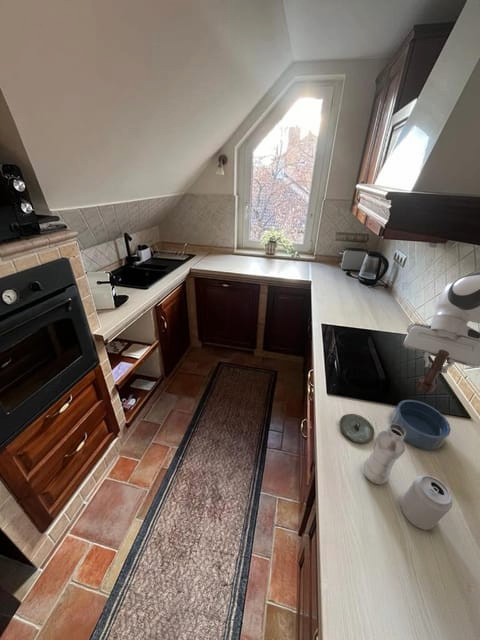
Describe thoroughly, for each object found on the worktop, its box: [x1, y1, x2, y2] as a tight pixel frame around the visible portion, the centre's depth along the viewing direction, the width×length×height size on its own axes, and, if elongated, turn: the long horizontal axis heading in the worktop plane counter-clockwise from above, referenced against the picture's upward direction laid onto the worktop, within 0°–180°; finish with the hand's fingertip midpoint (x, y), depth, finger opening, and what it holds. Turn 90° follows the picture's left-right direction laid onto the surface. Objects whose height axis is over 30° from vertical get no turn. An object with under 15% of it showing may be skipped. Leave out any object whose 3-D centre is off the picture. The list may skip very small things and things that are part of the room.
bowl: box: [391, 399, 452, 451], centre depth 83 cm, size 15×15×6 cm
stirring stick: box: [416, 350, 449, 394], centre depth 80 cm, size 5×5×15 cm
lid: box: [339, 413, 375, 444], centre depth 83 cm, size 11×10×5 cm
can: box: [399, 474, 453, 531], centre depth 61 cm, size 8×8×12 cm
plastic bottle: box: [362, 423, 406, 485], centre depth 67 cm, size 6×7×20 cm
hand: (435, 370), depth 79 cm, fingers closed on stirring stick, 2 cm apart
